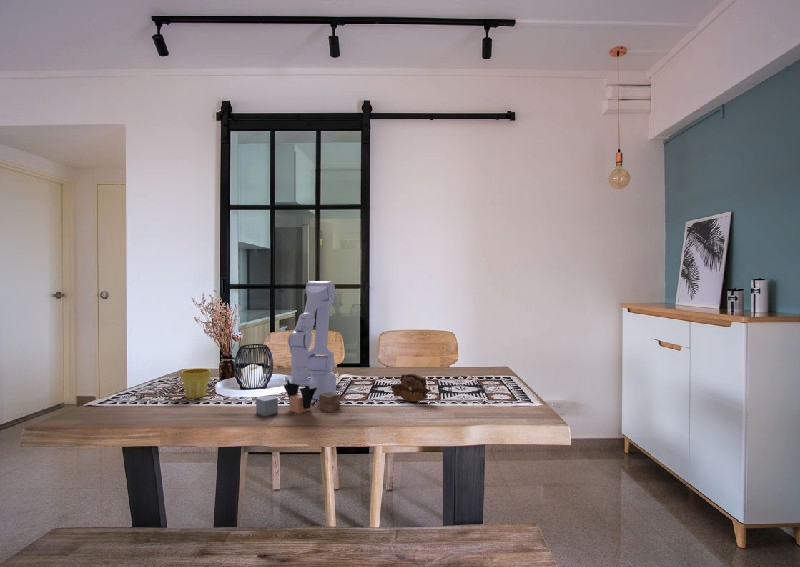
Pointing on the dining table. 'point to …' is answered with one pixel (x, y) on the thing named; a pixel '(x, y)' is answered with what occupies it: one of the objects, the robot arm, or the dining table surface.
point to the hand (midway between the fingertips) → (300, 406)
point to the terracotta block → (297, 404)
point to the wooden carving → (411, 388)
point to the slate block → (266, 405)
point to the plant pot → (195, 382)
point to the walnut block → (329, 401)
